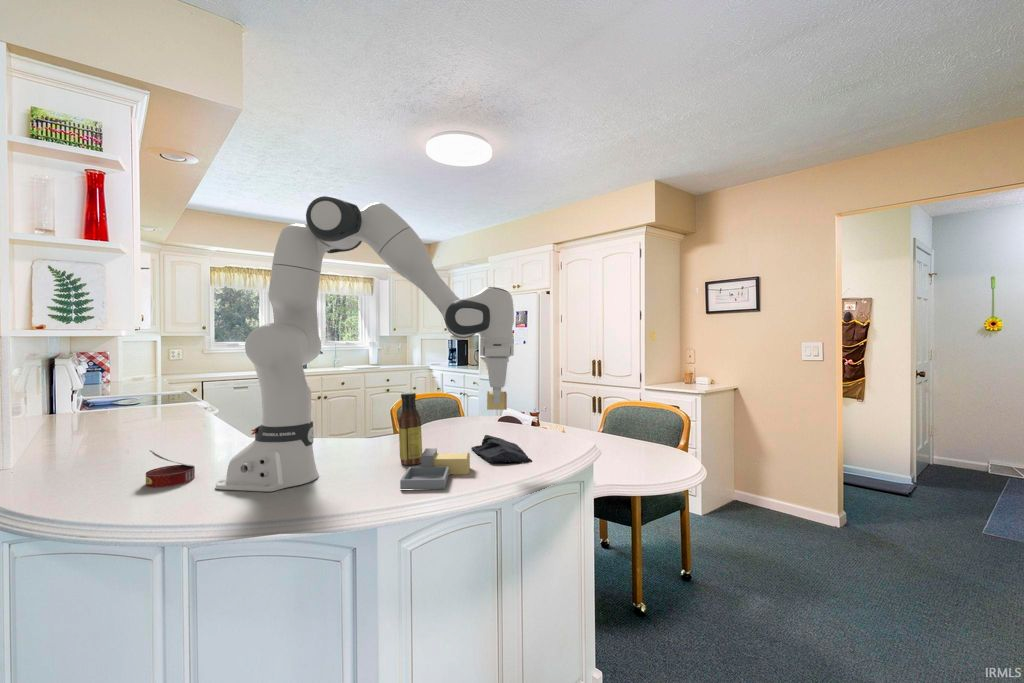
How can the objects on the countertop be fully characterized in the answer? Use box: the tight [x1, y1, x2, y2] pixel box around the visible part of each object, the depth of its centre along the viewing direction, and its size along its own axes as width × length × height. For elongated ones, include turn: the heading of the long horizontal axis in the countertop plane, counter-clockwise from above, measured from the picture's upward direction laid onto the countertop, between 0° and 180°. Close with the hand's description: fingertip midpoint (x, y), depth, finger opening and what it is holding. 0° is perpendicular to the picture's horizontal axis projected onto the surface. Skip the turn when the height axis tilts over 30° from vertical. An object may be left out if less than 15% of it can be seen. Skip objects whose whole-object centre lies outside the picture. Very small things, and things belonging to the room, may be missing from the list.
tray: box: [399, 466, 450, 490], centre depth 111 cm, size 10×11×2 cm
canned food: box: [145, 450, 196, 489], centre depth 114 cm, size 11×10×10 cm
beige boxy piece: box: [420, 447, 471, 475], centre depth 121 cm, size 12×8×5 cm, turn 92°
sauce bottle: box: [398, 392, 423, 466], centre depth 129 cm, size 7×6×20 cm
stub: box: [486, 391, 508, 411], centre depth 121 cm, size 5×6×4 cm
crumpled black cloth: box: [470, 434, 533, 464], centre depth 138 cm, size 15×22×5 cm
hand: (496, 401), depth 121 cm, fingers closed on stub, 6 cm apart
